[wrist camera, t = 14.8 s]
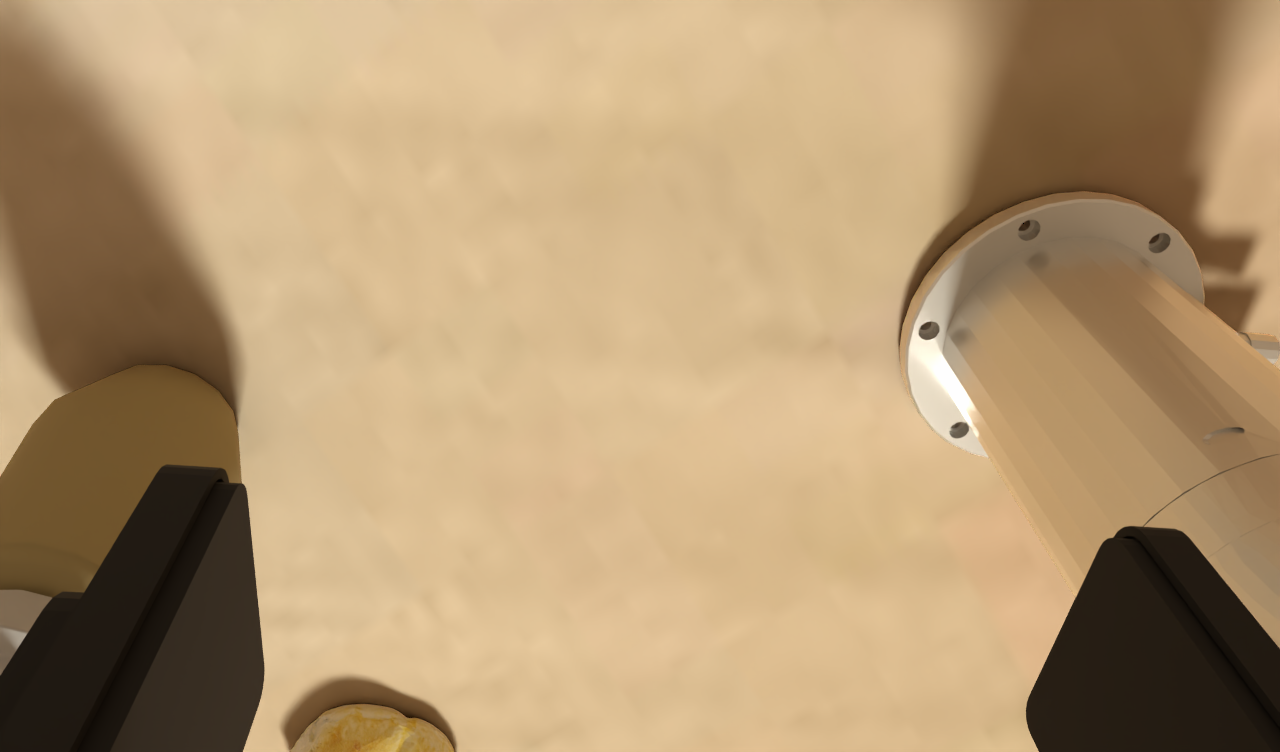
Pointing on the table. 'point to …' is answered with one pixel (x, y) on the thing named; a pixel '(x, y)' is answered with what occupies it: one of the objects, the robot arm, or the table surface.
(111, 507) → the squeeze bottle
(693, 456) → the table surface
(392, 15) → the table surface
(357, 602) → the table surface
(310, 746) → the bread roll
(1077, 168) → the table surface
